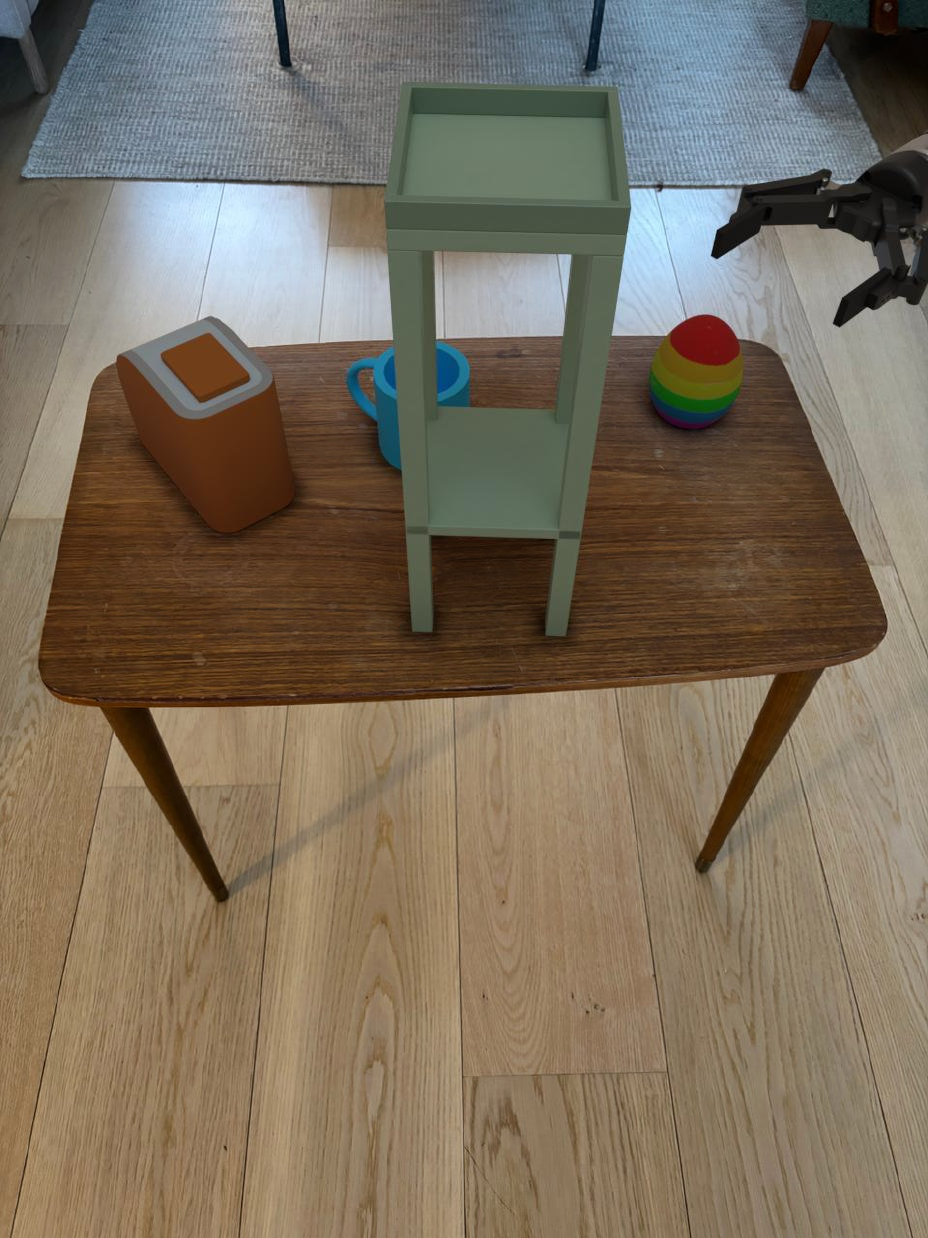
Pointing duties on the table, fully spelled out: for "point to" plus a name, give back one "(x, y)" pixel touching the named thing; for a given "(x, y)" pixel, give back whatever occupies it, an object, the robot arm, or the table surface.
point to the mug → (449, 389)
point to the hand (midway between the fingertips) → (776, 277)
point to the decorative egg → (696, 372)
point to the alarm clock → (211, 422)
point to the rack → (503, 223)
